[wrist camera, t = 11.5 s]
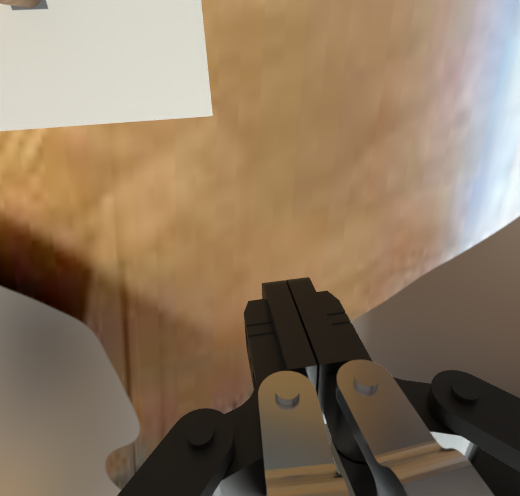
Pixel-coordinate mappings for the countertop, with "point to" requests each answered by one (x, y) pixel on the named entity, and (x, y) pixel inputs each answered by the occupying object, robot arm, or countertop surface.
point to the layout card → (102, 62)
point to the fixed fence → (21, 3)
